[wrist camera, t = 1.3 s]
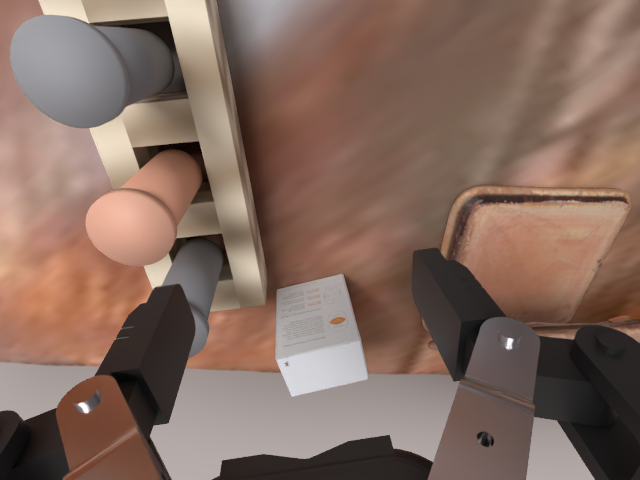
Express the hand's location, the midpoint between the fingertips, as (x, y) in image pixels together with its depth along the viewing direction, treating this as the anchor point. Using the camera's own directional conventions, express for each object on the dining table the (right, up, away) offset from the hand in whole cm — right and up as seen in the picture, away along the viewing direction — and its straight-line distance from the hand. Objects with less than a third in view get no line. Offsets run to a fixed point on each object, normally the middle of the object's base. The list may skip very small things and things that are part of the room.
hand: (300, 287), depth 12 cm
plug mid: (-11, +7, +16) cm, 21 cm away
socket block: (-11, +9, +20) cm, 25 cm away
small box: (0, -5, +29) cm, 30 cm away
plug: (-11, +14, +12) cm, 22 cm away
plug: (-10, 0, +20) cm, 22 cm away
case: (+24, -2, +30) cm, 38 cm away
